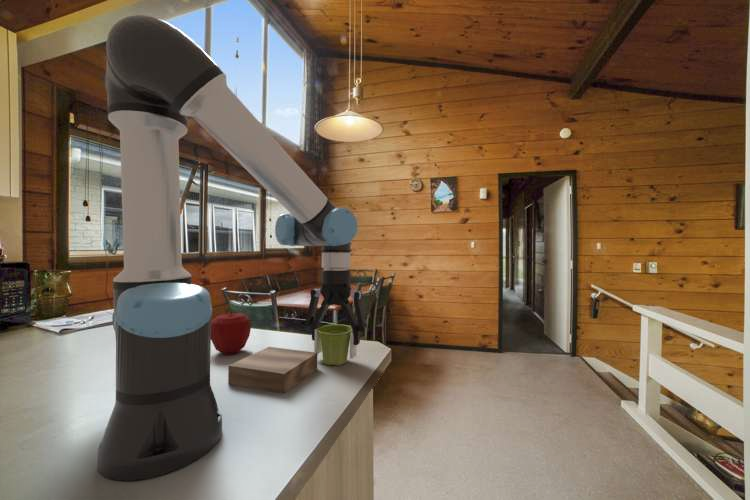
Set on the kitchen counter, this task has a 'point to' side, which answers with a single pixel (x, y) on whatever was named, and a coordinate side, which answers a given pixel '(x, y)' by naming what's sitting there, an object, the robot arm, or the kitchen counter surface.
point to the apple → (230, 332)
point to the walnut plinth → (273, 369)
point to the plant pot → (335, 343)
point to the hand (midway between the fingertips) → (335, 354)
